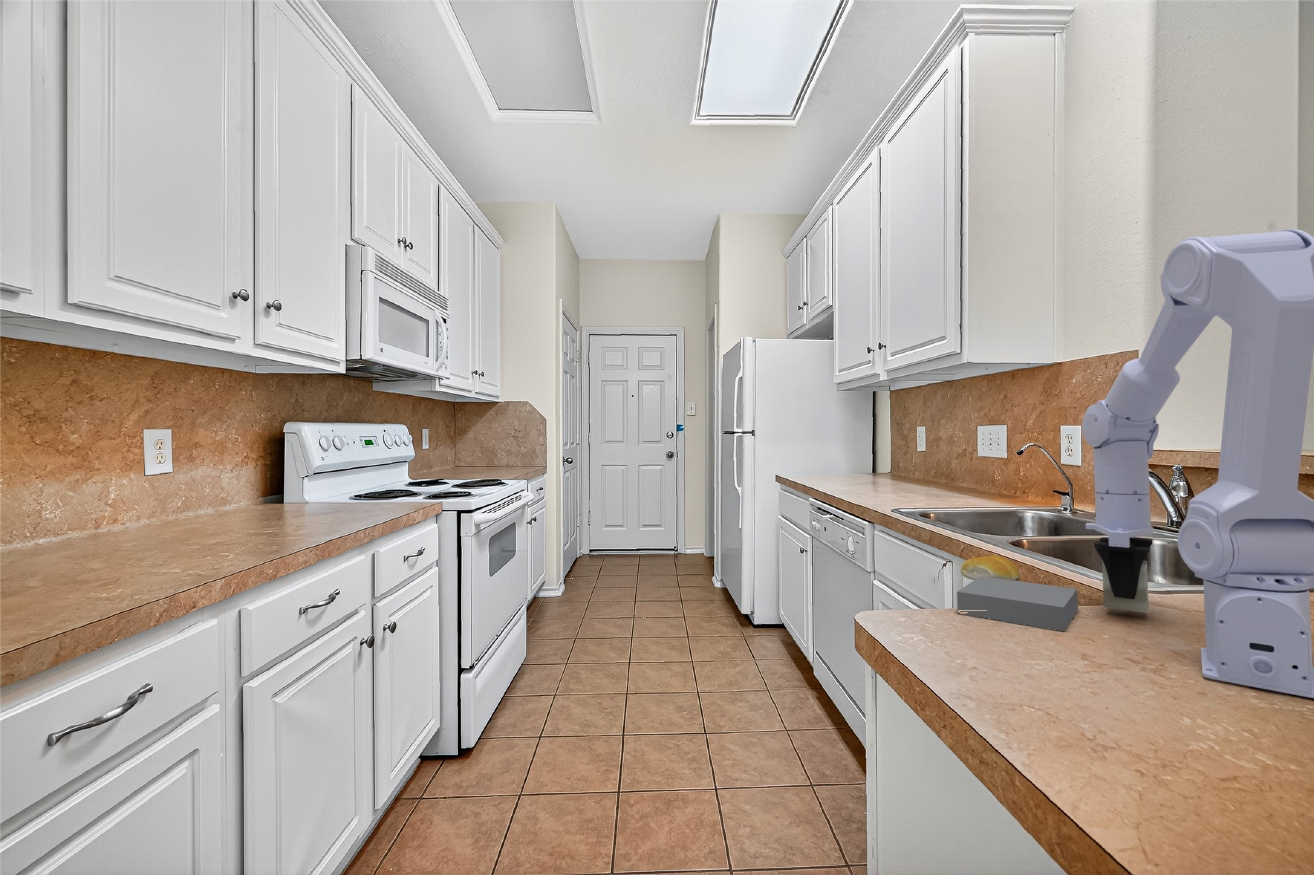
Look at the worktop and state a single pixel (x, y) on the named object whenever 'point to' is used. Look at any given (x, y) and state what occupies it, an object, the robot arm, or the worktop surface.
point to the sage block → (1122, 603)
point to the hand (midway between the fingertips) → (1125, 594)
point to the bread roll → (990, 568)
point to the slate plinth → (1019, 602)
